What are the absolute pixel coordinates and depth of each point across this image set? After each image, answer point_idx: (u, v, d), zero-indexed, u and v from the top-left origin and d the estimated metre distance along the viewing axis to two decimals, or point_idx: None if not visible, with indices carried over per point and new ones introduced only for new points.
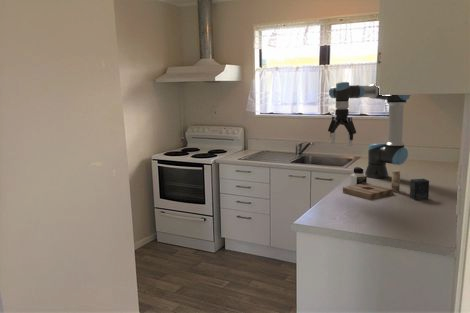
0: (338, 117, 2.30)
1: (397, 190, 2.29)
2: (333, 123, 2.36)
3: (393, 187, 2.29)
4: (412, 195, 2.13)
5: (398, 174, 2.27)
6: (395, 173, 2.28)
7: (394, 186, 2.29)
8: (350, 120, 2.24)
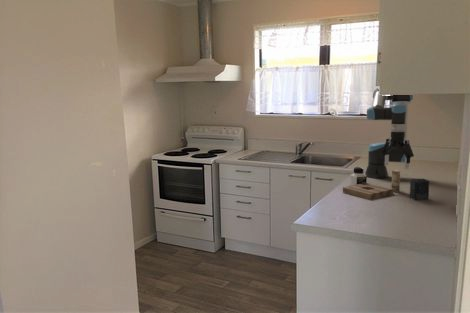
0: (393, 139, 2.27)
1: (397, 190, 2.29)
2: (387, 145, 2.32)
3: (393, 187, 2.29)
4: (412, 195, 2.13)
5: (398, 174, 2.27)
6: (395, 173, 2.28)
7: (394, 186, 2.29)
8: (407, 143, 2.20)
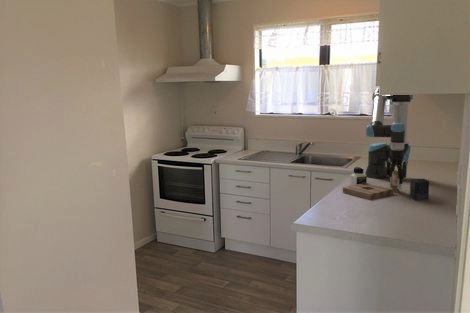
0: (392, 156, 2.29)
1: (397, 190, 2.29)
2: (389, 165, 2.33)
3: (393, 187, 2.29)
4: (412, 195, 2.13)
5: None
6: (395, 173, 2.28)
7: (394, 186, 2.29)
8: (405, 164, 2.23)
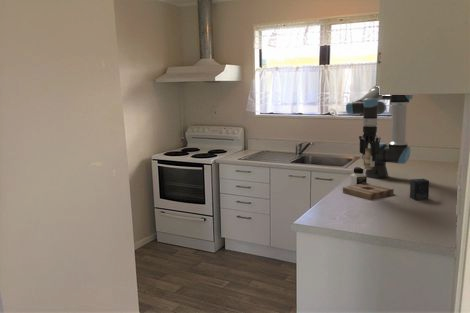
0: (365, 133, 2.23)
1: (370, 168, 2.23)
2: (362, 142, 2.27)
3: (366, 165, 2.24)
4: (412, 195, 2.13)
5: None
6: (368, 150, 2.22)
7: (367, 164, 2.23)
8: (378, 141, 2.17)
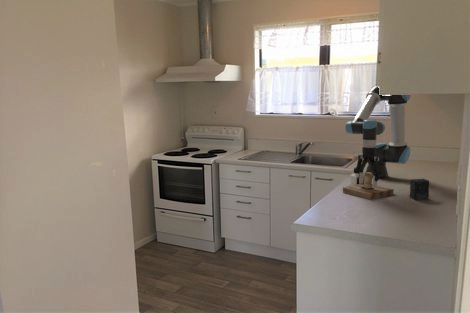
0: (365, 154, 2.25)
1: None
2: (360, 162, 2.30)
3: None
4: (412, 195, 2.13)
5: (370, 176, 2.24)
6: (367, 175, 2.24)
7: (366, 188, 2.25)
8: (378, 161, 2.19)
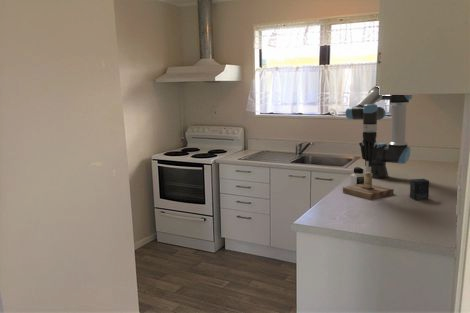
0: (364, 138, 2.24)
1: None
2: (363, 149, 2.27)
3: None
4: (412, 195, 2.13)
5: (370, 176, 2.24)
6: (367, 175, 2.24)
7: (366, 188, 2.25)
8: (376, 147, 2.18)
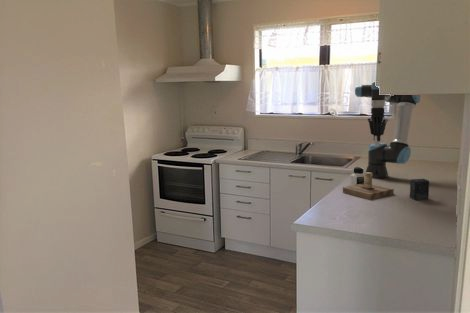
0: (373, 114, 2.34)
1: None
2: (372, 124, 2.36)
3: None
4: (412, 195, 2.13)
5: (370, 176, 2.24)
6: (367, 175, 2.24)
7: (366, 188, 2.25)
8: (384, 122, 2.28)
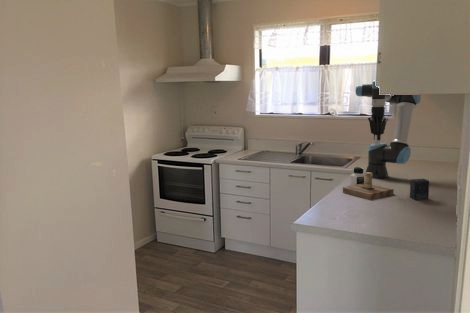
0: (373, 113, 2.34)
1: None
2: (372, 123, 2.37)
3: None
4: (412, 195, 2.13)
5: (370, 176, 2.24)
6: (367, 175, 2.24)
7: (366, 188, 2.25)
8: (385, 121, 2.28)
